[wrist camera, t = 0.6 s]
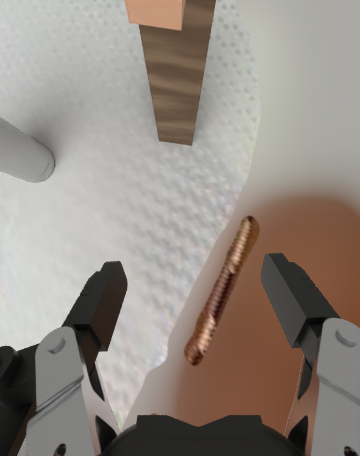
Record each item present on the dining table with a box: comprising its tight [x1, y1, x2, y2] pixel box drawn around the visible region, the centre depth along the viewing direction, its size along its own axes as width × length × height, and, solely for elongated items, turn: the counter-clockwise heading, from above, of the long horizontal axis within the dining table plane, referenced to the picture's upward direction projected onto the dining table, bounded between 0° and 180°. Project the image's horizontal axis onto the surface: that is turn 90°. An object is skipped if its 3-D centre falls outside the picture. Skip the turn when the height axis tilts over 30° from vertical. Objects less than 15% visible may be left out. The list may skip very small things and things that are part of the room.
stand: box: [139, 0, 216, 145], centre depth 29 cm, size 16×8×32 cm, turn 172°
